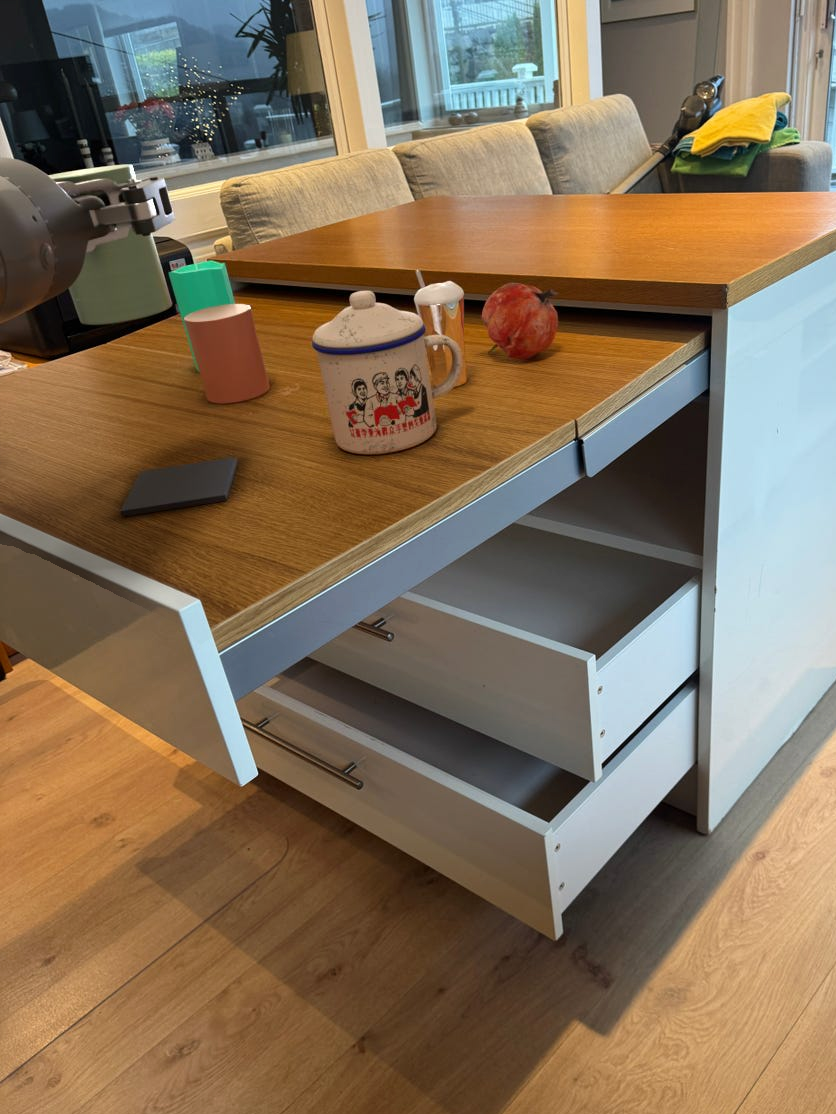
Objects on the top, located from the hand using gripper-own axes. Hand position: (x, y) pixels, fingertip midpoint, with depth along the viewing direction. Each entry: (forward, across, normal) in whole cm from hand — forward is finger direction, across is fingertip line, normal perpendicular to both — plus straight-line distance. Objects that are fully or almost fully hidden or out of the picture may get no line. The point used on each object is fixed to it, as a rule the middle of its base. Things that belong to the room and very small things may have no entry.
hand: (106, 200), depth 62 cm
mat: (-2, 0, +21) cm, 21 cm away
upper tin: (-2, 0, +7) cm, 7 cm away
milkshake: (+19, -20, +21) cm, 34 cm away
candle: (+33, +7, +20) cm, 40 cm away
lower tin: (+22, +2, +20) cm, 30 cm away
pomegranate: (+25, -27, +21) cm, 42 cm away
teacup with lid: (+6, -17, +21) cm, 27 cm away
